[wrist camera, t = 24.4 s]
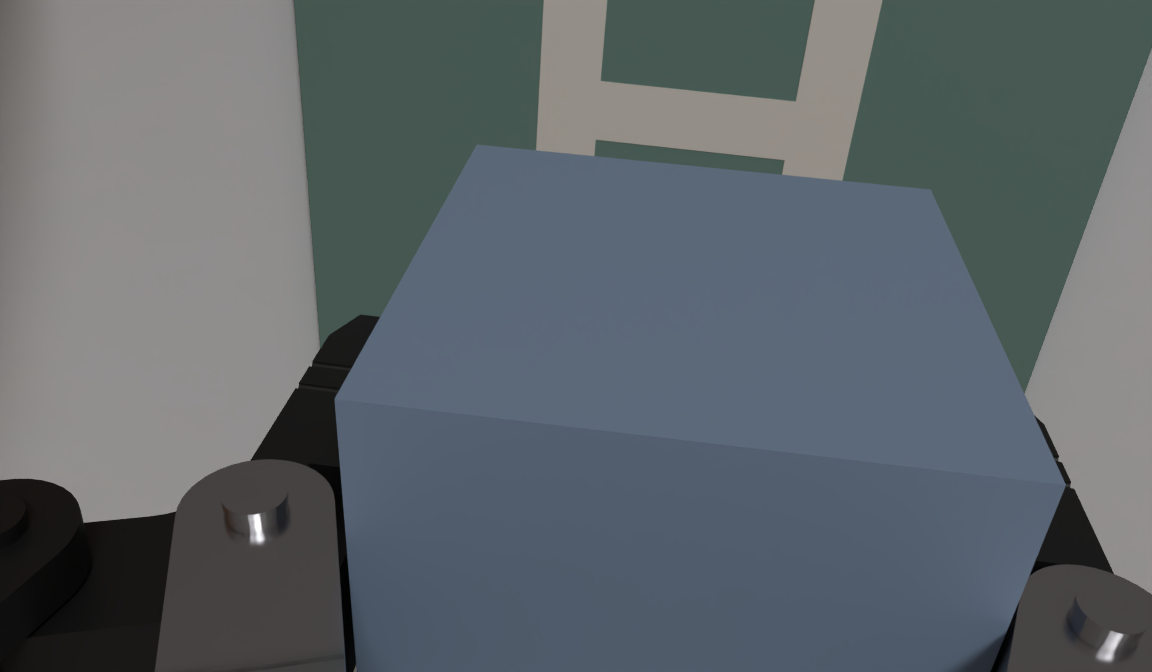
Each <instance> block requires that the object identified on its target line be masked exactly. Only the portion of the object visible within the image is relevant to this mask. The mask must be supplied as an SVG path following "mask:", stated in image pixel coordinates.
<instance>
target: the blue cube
mask: <svg viewBox="0 0 1152 672" xmlns="http://www.w3.org/2000/svg"><path fill="white" fill-rule="evenodd" d="M335 411H336V423H337V436H338V448H339V460H340V472H341V484H342V497H343V509H344V521H345V533H346V545H347V558H348V570H349V582H350V594H351V606H352V619H353V631H354V643H355V655H356V667H357V672H991V669H992V667H993V664H994V662H995V659H996V657H997V654H998V652H999V649H1000V647H1001V645H1002V642H1003V640H1004V637H1005V635H1006V632H1007V630H1008V627H1009V625H1010V622H1011V620H1012V617H1013V615H1014V612H1015V610H1016V607H1017V605H1018V602H1019V600H1020V598H1021V595H1022V593H1023V590H1024V588H1025V585H1026V583H1027V580H1028V578H1029V575H1030V573H1031V570H1032V568H1033V565H1034V563H1035V560H1036V558H1037V556H1038V553H1039V551H1040V548H1041V546H1042V543H1043V541H1044V538H1045V536H1046V533H1047V531H1048V528H1049V526H1050V523H1051V521H1052V518H1053V516H1054V514H1055V511H1056V509H1057V506H1058V504H1059V501H1060V499H1061V496H1062V494H1063V491H1064V489H1065V486H1066V484H1065V482H1064V480H1063V477H1062V475H1061V473H1060V471H1059V469H1058V467H1057V464H1056V462H1055V460H1054V458H1053V456H1052V453H1051V451H1050V449H1049V447H1048V445H1047V443H1046V440H1045V438H1044V436H1043V434H1042V432H1041V429H1040V427H1039V425H1038V423H1037V421H1036V419H1035V416H1034V414H1033V412H1032V410H1031V408H1030V405H1029V403H1028V401H1027V399H1026V397H1025V394H1024V392H1023V390H1022V388H1021V386H1020V384H1019V381H1018V379H1017V377H1016V375H1015V373H1014V370H1013V368H1012V366H1011V364H1010V362H1009V360H1008V357H1007V355H1006V353H1005V351H1004V349H1003V346H1002V344H1001V342H1000V340H999V338H998V336H997V333H996V331H995V329H994V327H993V325H992V322H991V320H990V318H989V316H988V314H987V311H986V309H985V307H984V305H983V303H982V301H981V298H980V296H979V294H978V292H977V290H976V287H975V285H974V283H973V281H972V279H971V277H970V274H969V272H968V270H967V268H966V266H965V263H964V261H963V259H962V257H961V255H960V252H959V250H958V248H957V246H956V244H955V242H954V239H953V237H952V235H951V233H950V231H949V228H948V226H947V224H946V222H945V220H944V218H943V215H942V213H941V211H940V209H939V207H938V204H937V202H936V200H935V198H934V196H933V194H932V191H931V189H921V188H911V187H901V186H890V185H880V184H870V183H860V182H850V181H840V180H830V179H820V178H810V177H800V176H790V175H779V174H769V173H759V172H749V171H739V170H729V169H719V168H709V167H699V166H689V165H679V164H669V163H658V162H648V161H638V160H628V159H618V158H608V157H598V156H588V155H578V154H568V153H558V152H547V151H537V150H527V149H517V148H507V147H497V146H487V145H476V147H475V149H474V151H473V152H472V154H471V156H470V158H469V159H468V161H467V163H466V165H465V167H464V168H463V170H462V172H461V174H460V176H459V177H458V179H457V181H456V183H455V184H454V186H453V188H452V190H451V192H450V193H449V195H448V197H447V199H446V201H445V202H444V204H443V206H442V208H441V209H440V211H439V213H438V215H437V217H436V218H435V220H434V222H433V224H432V226H431V227H430V229H429V231H428V233H427V235H426V236H425V238H424V240H423V242H422V243H421V245H420V247H419V249H418V251H417V252H416V254H415V256H414V258H413V260H412V261H411V263H410V265H409V267H408V268H407V270H406V272H405V274H404V276H403V277H402V279H401V281H400V283H399V285H398V286H397V288H396V290H395V292H394V294H393V295H392V297H391V299H390V301H389V302H388V304H387V306H386V308H385V310H384V311H383V313H382V315H381V317H380V319H379V320H378V322H377V324H376V326H375V327H374V329H373V331H372V333H371V335H370V336H369V338H368V340H367V342H366V344H365V345H364V347H363V349H362V351H361V352H360V354H359V356H358V358H357V360H356V361H355V363H354V365H353V367H352V369H351V370H350V372H349V374H348V376H347V378H346V379H345V381H344V383H343V385H342V386H341V388H340V390H339V392H338V394H337V395H336V397H335Z"/></svg>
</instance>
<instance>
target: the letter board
mask: <svg viewBox="0 0 1152 672" xmlns="http://www.w3.org/2000/svg"><path fill="white" fill-rule="evenodd" d="M294 8H295V21H296V34H297V48H298V61H299V74H300V87H301V100H302V113H303V126H304V139H305V152H306V166H307V179H308V192H309V205H310V218H311V231H312V244H313V257H314V270H315V284H316V297H317V310H318V323H319V336H320V349H321V347H322V345H323V344H324V342H325V341H326V339H327V337H328V336H329V335H330V334H331V333H333V332H334V331H336V330H337V329H339V328H340V327H342V326H343V325H345V324H347V323H348V322H350V321H351V320H353V319H354V318H356V317H357V316H359V315H360V314H361V315H369V316H377V317H381V315H382V313H383V311H384V310H385V308H386V306H387V304H388V302H389V301H390V299H391V297H392V295H393V294H394V292H395V290H396V288H397V286H398V285H399V283H400V281H401V279H402V277H403V276H404V274H405V272H406V270H407V268H408V267H409V265H410V263H411V261H412V260H413V258H414V256H415V254H416V252H417V251H418V249H419V247H420V245H421V243H422V242H423V240H424V238H425V236H426V235H427V233H428V231H429V229H430V227H431V226H432V224H433V222H434V220H435V218H436V217H437V215H438V213H439V211H440V209H441V208H442V206H443V204H444V202H445V201H446V199H447V197H448V195H449V193H450V192H451V190H452V188H453V186H454V184H455V183H456V181H457V179H458V177H459V176H460V174H461V172H462V170H463V168H464V167H465V165H466V163H467V161H468V159H469V158H470V156H471V154H472V152H473V151H474V149H475V147H476V145H487V146H497V147H507V148H517V149H527V150H537V151H547V152H558V153H568V154H578V155H588V156H598V157H608V158H618V159H628V160H638V161H648V162H658V163H669V164H679V165H689V166H699V167H709V168H719V169H729V170H739V171H749V172H759V173H769V174H779V175H790V176H800V177H810V178H820V179H830V180H840V181H850V182H860V183H870V184H880V185H890V186H901V187H911V188H921V189H931V191H932V194H933V196H934V198H935V200H936V202H937V204H938V207H939V209H940V211H941V213H942V215H943V218H944V220H945V222H946V224H947V226H948V228H949V231H950V233H951V235H952V237H953V239H954V242H955V244H956V246H957V248H958V250H959V252H960V255H961V257H962V259H963V261H964V263H965V266H966V268H967V270H968V272H969V274H970V277H971V279H972V281H973V283H974V285H975V287H976V290H977V292H978V294H979V296H980V298H981V301H982V303H983V305H984V307H985V309H986V311H987V314H988V316H989V318H990V320H991V322H992V325H993V327H994V329H995V331H996V333H997V336H998V338H999V340H1000V342H1001V344H1002V346H1003V349H1004V351H1005V353H1006V355H1007V357H1008V360H1009V362H1010V364H1011V366H1012V368H1013V370H1014V373H1015V375H1016V377H1017V379H1018V381H1019V384H1020V386H1021V388H1022V390H1023V392H1024V393H1025V390H1026V388H1027V385H1028V382H1029V379H1030V377H1031V374H1032V371H1033V369H1034V366H1035V363H1036V360H1037V358H1038V355H1039V352H1040V350H1041V347H1042V344H1043V341H1044V339H1045V336H1046V333H1047V331H1048V328H1049V325H1050V322H1051V320H1052V317H1053V314H1054V312H1055V309H1056V306H1057V303H1058V301H1059V298H1060V295H1061V293H1062V290H1063V287H1064V285H1065V282H1066V279H1067V276H1068V274H1069V271H1070V268H1071V266H1072V263H1073V260H1074V257H1075V255H1076V252H1077V249H1078V247H1079V244H1080V241H1081V238H1082V236H1083V233H1084V230H1085V228H1086V225H1087V222H1088V219H1089V217H1090V214H1091V211H1092V209H1093V206H1094V203H1095V200H1096V198H1097V195H1098V192H1099V190H1100V187H1101V184H1102V181H1103V179H1104V176H1105V173H1106V171H1107V168H1108V165H1109V162H1110V160H1111V157H1112V154H1113V152H1114V149H1115V146H1116V143H1117V141H1118V138H1119V135H1120V133H1121V130H1122V127H1123V124H1124V122H1125V119H1126V116H1127V114H1128V111H1129V108H1130V105H1131V103H1132V100H1133V97H1134V95H1135V92H1136V89H1137V86H1138V84H1139V81H1140V78H1141V76H1142V73H1143V70H1144V67H1145V65H1146V62H1147V59H1148V57H1149V54H1150V51H1151V48H1152V0H294Z"/></svg>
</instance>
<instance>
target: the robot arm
mask: <svg viewBox="0 0 1152 672" xmlns="http://www.w3.org/2000/svg"><path fill="white" fill-rule="evenodd" d="M379 319H380V317H377V316H369V315H361V314H360V315H359V316H357V317H356V318H354V319H353V320H351V321H350V322H348V323H347V324H345V325H343V326H342V327H340V328H339V329H337V330H336V331H334V332H333V333H331V334H330V335H329V336H328V337H327V339H326V341H325V342H324V344H323V345H322V347H321V349H320V350H319V352H318V353H317V355H316V357H315V358H314V360H313V363H312V367H310V366H309V368H308V369H307V371H306V373H305V374H304V376H303V377H302V379H301V381H300V382H299V388H298V389H297V388H296V389H295V390H294V392H293V393H292V395H291V397H290V398H289V400H288V401H287V403H286V405H285V406H284V408H283V409H282V411H281V413H280V414H279V416H278V417H277V419H276V421H275V422H274V424H273V425H272V427H271V429H270V430H269V432H268V433H267V435H266V437H265V438H264V440H263V441H262V443H261V445H260V446H259V448H258V449H257V451H256V452H255V454H254V456H253V457H252V459H251V460H250V461H246V462H241V463H237V464H233V465H230V466H227V467H225V468H222V469H219V470H217V471H215V472H213V473H211V474H209V475H207V476H206V477H204V478H203V479H201V480H200V481H198V482H197V483H196V484H195V485H194V486H193V487H191V488H190V489H189V490H188V492H187V493H186V494H185V495H184V496H183V498H182V499H181V501H180V503H179V505H178V507H177V511H176V512H172V513H168V514H163V515H157V516H150V517H140V518H129V519H119V520H109V521H99V522H89V523H84V522H83V518H82V514H81V510H80V507H79V504H78V502H77V500H76V499H75V497H74V496H73V495H72V494H71V493H70V492H69V491H67V490H66V489H64V488H63V487H61V486H58V485H56V484H54V483H50V482H46V481H43V480H34V479H10V480H0V672H353V671H354V668H355V665H356V655H355V643H354V631H353V619H352V606H351V594H350V582H349V570H348V558H347V545H346V533H345V521H344V509H343V497H342V484H341V472H340V460H339V448H338V436H337V423H336V411H335V397H336V395H337V394H338V392H339V390H340V388H341V386H342V385H343V383H344V381H345V379H346V378H347V376H348V374H349V372H350V370H351V369H352V367H353V365H354V363H355V361H356V360H357V358H358V356H359V354H360V352H361V351H362V349H363V347H364V345H365V344H366V342H367V340H368V338H369V336H370V335H371V333H372V331H373V329H374V327H375V326H376V324H377V322H378V320H379ZM1035 419H1036V421H1037V423H1038V425H1039V427H1040V429H1041V432H1042V434H1043V436H1044V438H1045V440H1046V443H1047V445H1048V447H1049V449H1050V451H1051V453H1052V456H1053V458H1054V460H1055V462H1056V464H1057V467H1058V469H1059V471H1060V473H1061V475H1062V477H1063V480H1064V482H1065V484H1066V486H1065V489H1064V491H1063V494H1062V496H1061V499H1060V501H1059V504H1058V506H1057V509H1056V511H1055V514H1054V516H1053V518H1052V521H1051V523H1050V526H1049V528H1048V531H1047V533H1046V536H1045V538H1044V541H1043V543H1042V546H1041V548H1040V551H1039V553H1038V556H1037V558H1036V560H1035V563H1034V565H1033V568H1032V570H1031V573H1030V575H1029V578H1028V580H1027V583H1026V585H1025V588H1024V590H1023V593H1022V595H1021V598H1020V600H1019V602H1018V605H1017V607H1016V610H1015V612H1014V615H1013V617H1012V620H1011V622H1010V625H1009V627H1008V630H1007V632H1006V635H1005V637H1004V640H1003V642H1002V645H1001V647H1000V649H999V652H998V654H997V657H996V659H995V662H994V664H993V667H992V669H991V672H1152V594H1150V593H1149V592H1147V591H1146V590H1144V589H1143V588H1141V587H1139V586H1138V585H1136V584H1134V583H1132V582H1130V581H1128V580H1126V579H1124V578H1122V577H1120V576H1117V575H1115V574H1114V573H1113V571H1112V569H1111V567H1110V565H1109V562H1108V560H1107V558H1106V556H1105V554H1104V552H1103V550H1102V547H1101V545H1100V543H1099V541H1098V539H1097V537H1096V535H1095V532H1094V530H1093V528H1092V526H1091V524H1090V522H1089V520H1088V517H1087V515H1086V513H1085V511H1084V509H1083V507H1082V505H1081V502H1080V500H1079V498H1078V496H1077V494H1076V492H1075V490H1074V489H1072V488H1070V484H1071V481H1070V479H1069V477H1068V475H1067V472H1066V470H1065V468H1064V466H1063V464H1062V462H1058V457H1059V455H1058V453H1057V451H1056V449H1055V447H1054V445H1053V442H1052V440H1051V438H1050V436H1049V434H1048V432H1047V430H1046V427H1045V425H1044V424H1043V423H1042V422H1041V421H1040V420H1039V419H1038V418H1037V417H1036V416H1035Z"/></svg>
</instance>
